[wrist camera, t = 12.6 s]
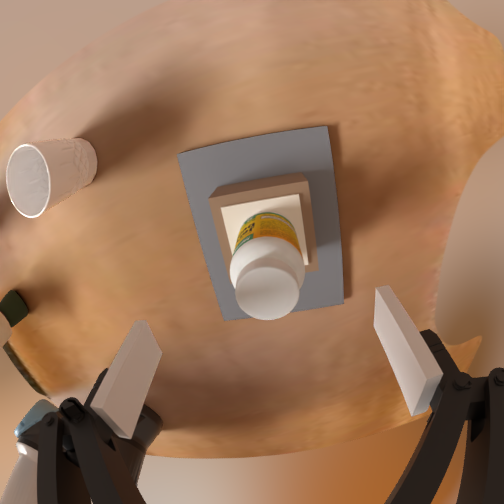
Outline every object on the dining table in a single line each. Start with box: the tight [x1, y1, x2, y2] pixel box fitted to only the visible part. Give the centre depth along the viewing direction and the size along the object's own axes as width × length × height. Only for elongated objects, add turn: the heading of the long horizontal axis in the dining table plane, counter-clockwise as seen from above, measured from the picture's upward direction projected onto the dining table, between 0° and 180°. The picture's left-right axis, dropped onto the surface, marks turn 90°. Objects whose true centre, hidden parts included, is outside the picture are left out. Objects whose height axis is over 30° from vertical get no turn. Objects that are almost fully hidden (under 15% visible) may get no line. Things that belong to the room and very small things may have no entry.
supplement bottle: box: [230, 211, 305, 320], centre depth 22 cm, size 5×5×10 cm
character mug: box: [0, 290, 28, 349], centre depth 35 cm, size 11×7×13 cm, turn 141°
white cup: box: [6, 138, 98, 218], centre depth 25 cm, size 8×8×10 cm
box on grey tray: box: [177, 126, 344, 321], centre depth 30 cm, size 22×16×6 cm
